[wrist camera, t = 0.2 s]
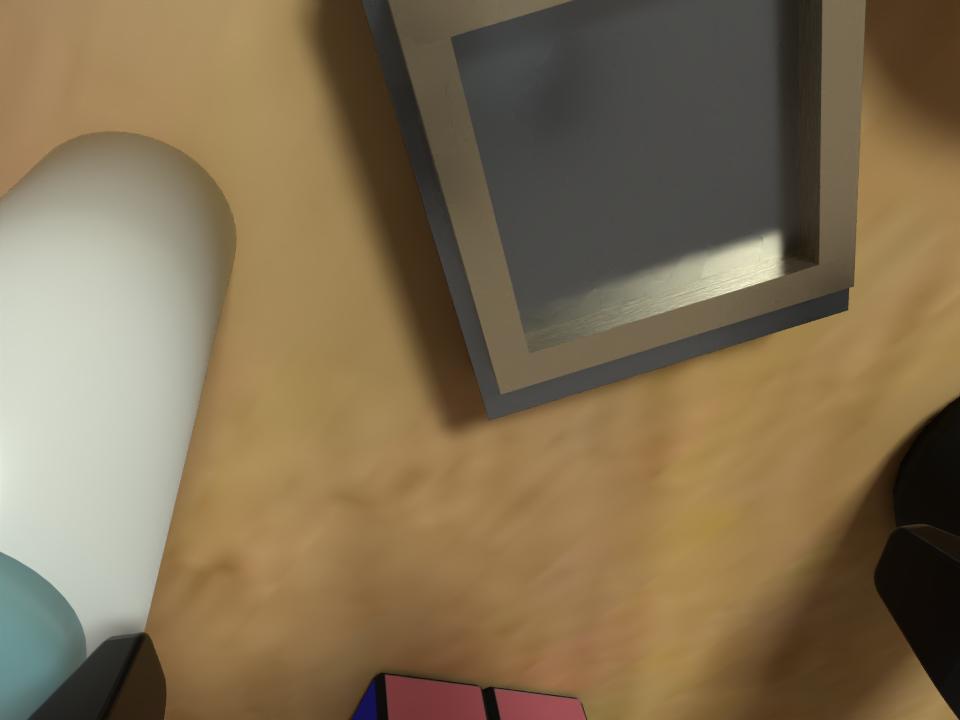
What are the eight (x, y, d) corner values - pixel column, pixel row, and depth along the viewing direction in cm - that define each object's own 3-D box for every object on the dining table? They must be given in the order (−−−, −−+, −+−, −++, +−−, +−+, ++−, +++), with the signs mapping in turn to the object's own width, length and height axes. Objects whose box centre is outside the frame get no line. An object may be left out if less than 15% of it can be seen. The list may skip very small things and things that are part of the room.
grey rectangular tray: (335, -86, 17) (337, -80, 14) (802, -224, 17) (901, -247, 14) (474, 374, 24) (495, 441, 21) (802, 273, 24) (868, 326, 21)
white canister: (-23, 166, 18) (-629, 655, 7) (183, 105, 18) (-61, 483, 7) (88, 341, 21) (-199, 897, 10) (266, 287, 21) (197, 773, 10)
